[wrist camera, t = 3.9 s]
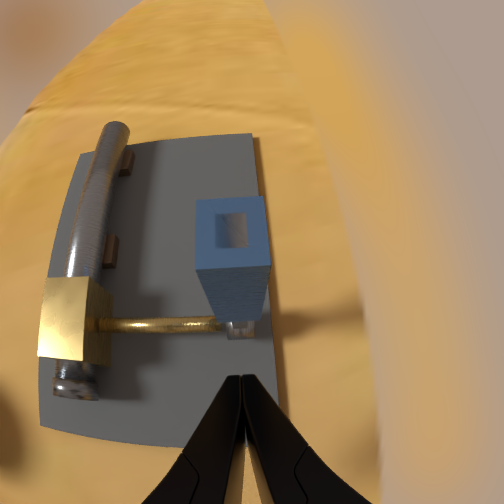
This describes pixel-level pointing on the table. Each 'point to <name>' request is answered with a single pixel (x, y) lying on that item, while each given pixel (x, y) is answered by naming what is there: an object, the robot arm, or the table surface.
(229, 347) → the gray mounting plate
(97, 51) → the table surface
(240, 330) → the valve lever
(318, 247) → the table surface
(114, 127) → the valve pipe
